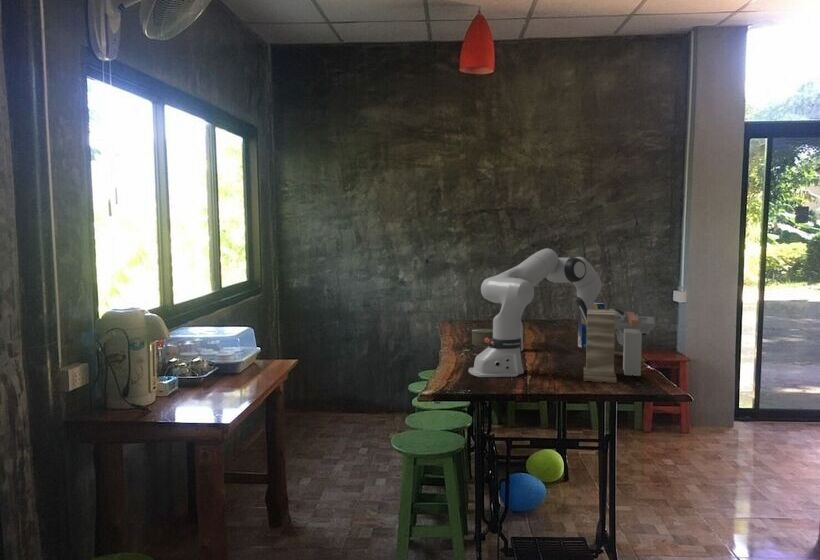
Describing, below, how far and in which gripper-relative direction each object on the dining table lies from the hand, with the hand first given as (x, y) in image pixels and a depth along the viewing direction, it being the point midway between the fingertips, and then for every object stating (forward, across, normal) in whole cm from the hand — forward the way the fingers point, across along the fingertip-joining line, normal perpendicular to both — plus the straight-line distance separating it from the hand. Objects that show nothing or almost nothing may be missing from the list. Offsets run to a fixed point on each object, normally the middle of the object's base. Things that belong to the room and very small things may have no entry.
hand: (630, 315), depth 269 cm
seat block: (-1, 0, +25) cm, 25 cm away
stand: (+9, -13, +30) cm, 35 cm away
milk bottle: (-32, -51, +7) cm, 61 cm away
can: (-45, -69, -1) cm, 82 cm away
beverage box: (-48, -16, -2) cm, 50 cm away
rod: (+7, 0, +6) cm, 9 cm away
